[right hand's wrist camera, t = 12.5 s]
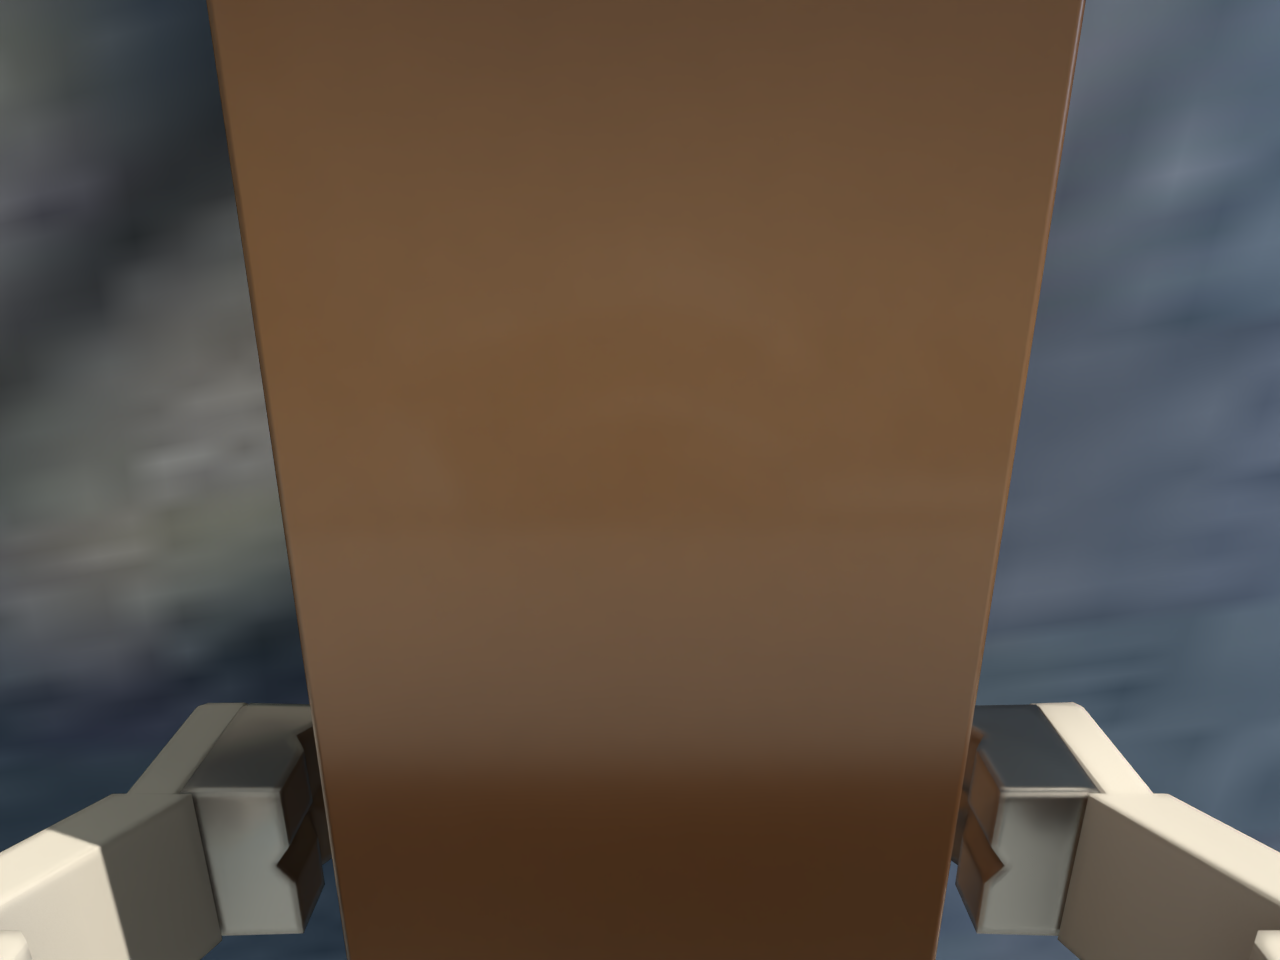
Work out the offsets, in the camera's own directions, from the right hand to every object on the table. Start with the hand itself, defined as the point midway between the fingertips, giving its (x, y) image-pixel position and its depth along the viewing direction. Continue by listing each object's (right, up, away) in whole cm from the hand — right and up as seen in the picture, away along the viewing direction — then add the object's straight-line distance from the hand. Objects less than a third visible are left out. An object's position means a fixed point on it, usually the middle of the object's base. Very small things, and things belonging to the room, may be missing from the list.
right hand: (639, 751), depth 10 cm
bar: (0, +8, +3) cm, 9 cm away
